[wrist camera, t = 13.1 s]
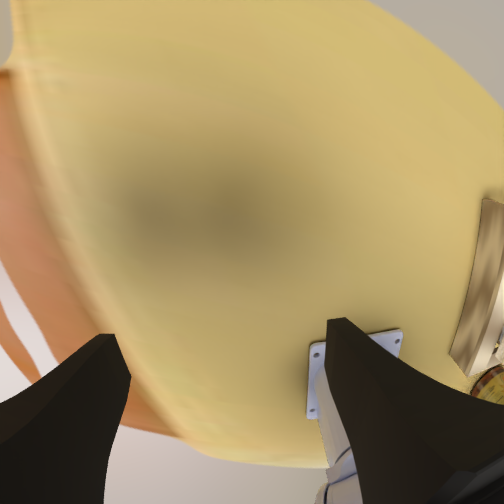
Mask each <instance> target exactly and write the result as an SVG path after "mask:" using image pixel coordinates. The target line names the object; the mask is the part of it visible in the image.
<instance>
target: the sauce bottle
mask: <svg viewBox="0 0 504 504" xmlns="http://www.w3.org/2000/svg"><path fill="white" fill-rule="evenodd" d="M472 396H474V397H476V398H480V399H483V400H486V401H490V402H494V403H497V404H502V405H504V368H502V367H495V368H493V369H492V370H491V371H490V372H488V373H487V374H486V375H485V376H484V377H483V378H482V379H481V380H480V381H479V382H478V383H477V385H476V386H475V387H474V389H473V391H472Z"/></svg>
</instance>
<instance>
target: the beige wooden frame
mask: <svg viewBox="0 0 504 504" xmlns="http://www.w3.org/2000/svg"><path fill="white" fill-rule="evenodd" d="M503 324H504V204H501V203H498V202H496V201H493V200H490V199H483V202H482V213H481V222H480V229H479V237H478V243H477V249H476V255H475V261H474V266H473V271H472V276H471V280H470V285H469V289H468V293H467V297H466V301H465V305H464V309H463V312H462V316H461V319H460V323H459V326H458V329H457V333H456V336H455V339H454V342H453V345H452V348H451V351H450V353H449V355H450V356H451V357H452V358H453V360H454V361H455V362H456V363H457V365H458V366H459V367H460V369H461V370H462V371H463V372H464V374H465V375H466V376H467V377H470V376H472V375H475V374H477V373H480V372H482V371H484V370H487V369H489V368H491V367H493V366H495V365H498V364H500V363H501V362H500V361H499V360H498V359H497V358H496V357H495V355H496V352H497V350H498V348H499V347H497V348H495V345H496V343H498V344H499V345H500V342H499V341H498V338H499V335H500V333H501V330H502V327H503ZM494 348H495V349H494Z"/></svg>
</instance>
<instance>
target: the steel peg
mask: <svg viewBox="0 0 504 504" xmlns="http://www.w3.org/2000/svg"><path fill="white" fill-rule="evenodd" d="M498 341H499V342H500V345H499V348H498V350H497V352H496V355H495V357H496V358H497V359H498V360H499V361H500V362H501V363H502V365H503V366H504V324H503V327H502V330H501V333H500V335H499V338H498Z"/></svg>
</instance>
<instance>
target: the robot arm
mask: <svg viewBox="0 0 504 504" xmlns="http://www.w3.org/2000/svg"><path fill="white" fill-rule="evenodd" d="M402 338H403V332H402V331H401V330H400V329H397V330H392V331H387V332H381V333H376V334H370V335H367V334H365V333H364V332H363V331H362V330H360V329H359V328H358V327H357V326H356V325H354V324H353V323H352V322H351V321H349V320H348V319H347V318H345V317H343V318H336V319H329V320H327V333H326V342H319V343H314V344H312V345H311V346H310V353H309V375H308V393H307V409H306V417H307V419H318V423H319V427H320V431H321V435H322V439H323V443H324V447H325V452H326V456H327V460H328V463H329V466H330V468H328V469H326V474H327V478H328V482H327V483H325V484H324V485H322V486H321V487H320V489H319V490H318V493H317V496H316V500H315V504H504V405H502V404H497V403H494V402H490V401H486V400H483V399H480V398H476V397H474V396H471V395H468V394H465V393H463V392H460V391H458V390H455V389H453V388H450V387H448V386H446V385H444V384H442V383H440V382H437V381H436V380H434V379H432V378H430V377H428V376H426V375H424V374H423V373H421V372H419V371H417V370H416V369H414V368H412V367H411V366H409V365H408V364H406V363H405V362H403V361H402V360H400V359H399V358H398V355H399V351H400V347H401V343H402ZM396 339H397V340H396ZM395 340H396V341H395ZM315 353H318V354H316V355H314V354H315ZM130 381H131V374H130V372H129V370H128V367H127V365H126V363H125V360H124V358H123V355H122V353H121V350H120V348H119V345H118V343H117V340H116V337H115V335H114V334H99V335H97V336H95V337H94V338H93V339H91V340H90V341H89V342H87V343H86V344H85V345H83V346H82V347H81V348H80V349H78V350H77V351H76V352H75V353H73V354H72V355H71V356H70V357H68V358H67V359H66V360H65V361H63V362H62V363H61V364H60V365H58V366H57V367H56V368H54V369H53V370H52V371H51V372H49V373H48V374H47V375H45V376H44V377H42V378H41V379H40V380H38V381H37V382H36V383H34V384H33V385H31V386H30V387H28V388H27V389H25V390H23V391H22V392H20V393H19V394H17V395H15V396H14V397H12V398H10V399H8V400H6V401H4V402H2V403H0V504H104V490H105V479H106V473H107V466H108V460H109V456H110V452H111V448H112V444H113V442H114V438H115V435H116V432H117V429H118V426H119V423H120V420H121V417H122V414H123V411H124V408H125V405H126V402H127V397H128V393H129V387H130Z"/></svg>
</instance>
